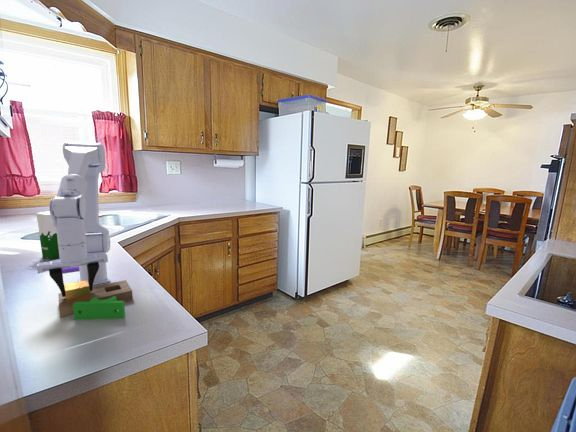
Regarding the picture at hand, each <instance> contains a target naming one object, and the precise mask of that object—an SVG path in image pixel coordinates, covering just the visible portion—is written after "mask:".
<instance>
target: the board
mask: <svg viewBox="0 0 576 432" xmlns="http://www.w3.org/2000/svg"><path fill="white" fill-rule="evenodd" d="M113 296H116V299H117V301H124V303H127V302H130V301H134V300H133V289H132V288H131V287H130V284H129V282H128V281H127V280H126V279H124V280H119V281H114V282H108V283H103V284H98V285H93V288H92V291H90V297H87V298H82V299H78V300H73V301H69V302H66V296H65V297H62V293H61V292H60V293H58V311H59V318H64V317H69V316H72V315H73V316H74V310H73V304H74V303H75V302H89V301H90V300H91V299H92V298H94V297H98V300H105V299H109V298H111V297H113ZM81 312H83V311H81Z"/></svg>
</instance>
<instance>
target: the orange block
mask: <svg viewBox="0 0 576 432" xmlns="http://www.w3.org/2000/svg"><path fill="white" fill-rule="evenodd" d="M64 286H65V294H66V302H69V301H73V300H78V299H82V298H87V297H90V289H89V283H88V280H85V281H79V280H78V281H74V282H70V283H64Z"/></svg>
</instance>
